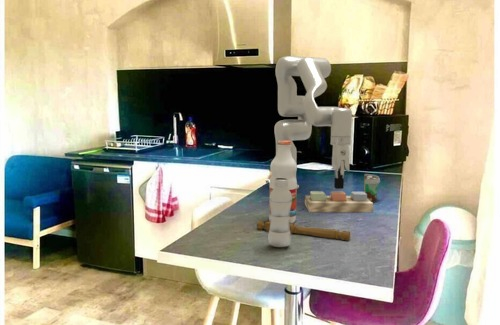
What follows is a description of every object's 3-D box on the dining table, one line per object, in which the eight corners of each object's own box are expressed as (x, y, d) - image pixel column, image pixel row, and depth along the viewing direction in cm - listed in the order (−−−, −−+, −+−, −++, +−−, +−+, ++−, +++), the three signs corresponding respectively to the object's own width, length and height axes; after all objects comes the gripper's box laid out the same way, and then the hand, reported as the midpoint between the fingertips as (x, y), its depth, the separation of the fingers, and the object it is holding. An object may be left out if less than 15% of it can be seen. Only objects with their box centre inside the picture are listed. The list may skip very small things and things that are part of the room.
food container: (380, 204, 183) (381, 179, 182) (364, 203, 185) (365, 179, 183) (378, 197, 195) (379, 174, 194) (363, 196, 197) (364, 173, 195)
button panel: (309, 212, 170) (309, 202, 170) (304, 204, 182) (305, 195, 181) (372, 212, 170) (373, 203, 170) (364, 204, 182) (364, 196, 182)
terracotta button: (332, 203, 173) (333, 194, 173) (330, 200, 178) (330, 191, 178) (345, 203, 173) (346, 194, 173) (343, 200, 178) (343, 191, 178)
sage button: (311, 203, 173) (312, 194, 173) (310, 199, 178) (310, 191, 178) (324, 203, 173) (325, 194, 173) (322, 200, 178) (323, 191, 178)
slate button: (353, 203, 173) (354, 194, 173) (350, 200, 178) (351, 191, 178) (366, 203, 174) (367, 194, 173) (363, 200, 178) (363, 191, 178)
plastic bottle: (266, 242, 135) (267, 176, 132) (289, 242, 136) (290, 176, 133) (269, 250, 129) (270, 181, 126) (292, 249, 130) (294, 181, 126)
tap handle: (349, 233, 137) (255, 221, 147) (348, 242, 137) (255, 230, 148) (350, 230, 140) (258, 219, 150) (350, 239, 140) (258, 228, 151)
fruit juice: (272, 216, 164) (274, 139, 160) (298, 218, 161) (300, 140, 157) (265, 223, 155) (267, 141, 151) (292, 226, 152) (295, 143, 148)
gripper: (355, 143, 165) (353, 192, 168) (346, 138, 180) (344, 184, 182) (334, 142, 165) (332, 192, 167) (327, 138, 179) (325, 184, 182)
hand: (338, 188), depth 175 cm, fingers closed
